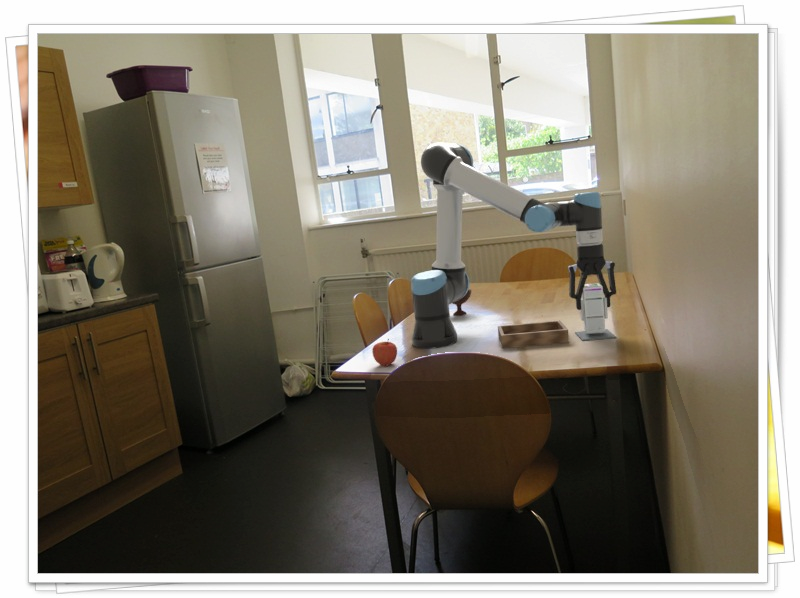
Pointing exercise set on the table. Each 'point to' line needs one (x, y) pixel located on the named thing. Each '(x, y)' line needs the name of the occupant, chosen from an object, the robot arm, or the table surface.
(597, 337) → the mat
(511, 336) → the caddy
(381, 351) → the apple
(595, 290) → the syrup box
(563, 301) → the table surface
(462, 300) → the ice cream bowl
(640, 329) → the table surface
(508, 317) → the table surface
